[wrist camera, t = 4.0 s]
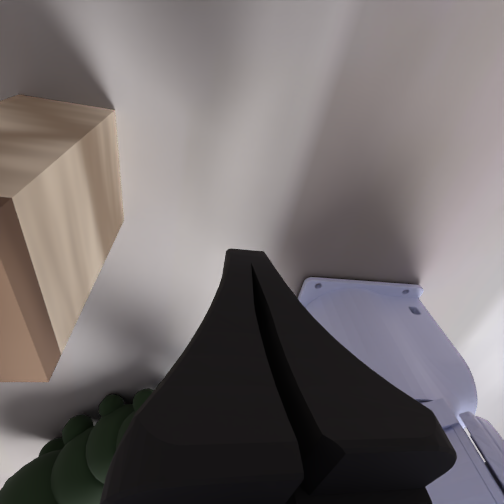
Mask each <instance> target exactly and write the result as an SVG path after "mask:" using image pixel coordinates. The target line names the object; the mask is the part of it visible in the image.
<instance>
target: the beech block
mask: <svg viewBox="0 0 504 504" xmlns="http://www.w3.org/2000/svg"><path fill="white" fill-rule="evenodd" d="M123 221H124V215H123V203H122V190H121V178H120V165H119V153H118V140H117V128H116V115H115V110H112V109H106V108H100V107H94V106H88V105H81V104H75V103H69V102H63V101H56V100H50V99H44V98H38V97H32V96H25V95H16V96H13V97H10V98H8V99H5V100H2V101H0V382H49V380H50V378H51V376H52V374H53V372H54V369H55V367H56V365H57V363H58V361H59V359H60V356H61V354H62V352H63V350H64V348H65V346H66V344H67V341H68V339H69V337H70V335H71V333H72V331H73V329H74V326H75V324H76V322H77V320H78V318H79V316H80V313H81V311H82V309H83V307H84V305H85V303H86V301H87V298H88V296H89V294H90V292H91V290H92V288H93V286H94V283H95V281H96V279H97V277H98V275H99V273H100V270H101V268H102V266H103V264H104V262H105V260H106V258H107V255H108V253H109V251H110V249H111V247H112V245H113V243H114V240H115V238H116V236H117V234H118V232H119V230H120V227H121V225H122V223H123Z"/></svg>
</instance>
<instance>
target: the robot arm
mask: <svg viewBox="0 0 504 504" xmlns="http://www.w3.org/2000/svg"><path fill="white" fill-rule="evenodd" d="M318 283H320V284H318ZM316 284H318V285H316ZM422 293H423V288H422V287H421V286H420V285H413V284H400V283H386V282H373V281H359V280H345V279H332V278H318V277H309V278H307V279H306V280H305V281H304V283H303V286H302V288H301V291H300V294H299V296H298V299H297V297H296V296H295V295H294V293H293V292H292V291H291V290H290V288H289V287H288V286H287V284H286V283H285V282H284V280H283V279H282V277H281V276H280V275H279V273H278V272H277V270H276V269H275V267H274V266H273V264H272V263H271V261H270V260H269V258H268V257H267V255H266V254H265V253H264V252H263V251H252V250H240V249H228V250H227V251H226V255H225V262H224V268H223V274H222V279H221V282H220V285H219V288H218V290H217V292H216V295H215V297H214V299H213V301H212V304H211V306H210V308H209V310H208V312H207V314H206V316H205V317H204V319H203V321H202V323H201V325H200V326H199V328H198V330H197V331H196V333H195V335H194V336H193V338H192V339H191V341H190V343H189V344H188V346H187V347H186V349H185V350H184V352H183V353H182V355H181V356H180V357H179V359H178V360H177V361H176V363H175V364H174V366H173V367H172V368H171V370H170V371H169V372H168V374H167V375H166V376H165V378H164V379H163V380H162V382H161V383H160V384H159V385H158V386H157V388H156V389H155V390H154V391H153V392H152V394H151V395H150V396H149V397H148V398H147V400H146V401H145V402H144V403H143V404H142V405H141V407H140V408H139V409H138V410H137V411H136V413H135V414H134V417H133V418H132V420H131V422H130V424H129V426H128V428H127V430H126V431H125V433H124V435H123V437H122V439H121V441H120V443H119V445H118V447H117V449H116V451H115V454H114V456H113V458H112V461H111V463H110V466H109V469H108V472H107V475H106V478H105V482H104V487H103V491H102V495H101V500H100V504H504V440H503V439H502V437H501V436H500V435H499V433H498V432H497V431H496V429H495V428H494V427H493V426H492V425H491V423H490V422H489V421H488V420H486V419H483V418H481V417H478V416H475V412H476V408H477V391H476V386H475V382H474V379H473V376H472V373H471V371H470V369H469V367H468V365H467V363H466V362H465V360H464V359H463V357H462V356H461V355H460V353H459V352H458V351H457V349H456V348H455V347H454V345H453V344H452V343H451V341H450V340H449V339H448V337H447V336H446V335H445V333H444V332H443V331H442V329H441V328H440V327H439V325H438V324H437V323H436V321H435V320H434V318H433V317H432V316H431V314H430V313H429V312H428V310H427V309H426V308H425V306H424V305H423V304H422V302H421V301H420V300H419V297H420V296H421V294H422ZM465 427H466V428H467V429H468V431H469V432H470V434H471V435H470V437H471V438H472V440H473V442H474V443H475V445H476V446H477V448H478V450H479V451H480V453H481V454H482V456H483V458H484V459H485V461H486V462H483V460H482V458H481V457H480V455H479V453H478V452H477V450H476V449H475V447H474V445H473V444H472V442H471V440H470V439H469V437H468V436H467V434H466V432H465V431H464V428H465Z"/></svg>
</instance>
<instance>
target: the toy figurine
mask: <svg viewBox="0 0 504 504" xmlns="http://www.w3.org/2000/svg"><path fill="white" fill-rule="evenodd" d="M153 391H154V390H151V389H143V390H141V391H139V392H138V393H137V394H136V395H135V396H134V399H133V404H124V401H123V399H122V398H121V397H119V396H118V395H114V394H113V395H108V396H106V397H105V399H104V400H103V401H102V402H101V403H100V405H99V414H100V416H101V418H100V420H99V421H98V422H97V423H96V424H95V426H94V425H93V421H92V419H91V418H90V417H88V416H86V415H78V416H76V417H73V418H71V419H70V420H69V421H68V423H67V424H66V426H65V427H64V429H63V430H62V437H61V438H56V439H54V440H51V441H49V442H48V443H47V444H46V445H45V446H44V447H43V448H42V450H41V451H40V453H39V457H38V458H36V459H34V460H33V461H31V462H30V463H28V464H26V465H25V466H23V467H22V468H21V469H20V470H19V471H17V472H16V473H15V474H14V475H13V476H12V477H10V478H9V479H8V480H7V481H6V482H5V484H4V486H3V488H2V489H1V490H0V504H100V500H101V495H102V491H103V487H104V482H105V478H106V475H107V472H108V469H109V466H110V463H111V461H112V458H113V456H114V454H115V451H116V449H117V447H118V445H119V443H120V441H121V439H122V437H123V435H124V433H125V431H126V430H127V428H128V426H129V424H130V422H131V420H132V418H133V417H134V414H135V413H136V411H137V410H138V409H139V408H140V407H141V405H142V404H143V403H144V402H145V401H146V400H147V398H148V397H149V396H150V395H151V394H152V392H153Z"/></svg>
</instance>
